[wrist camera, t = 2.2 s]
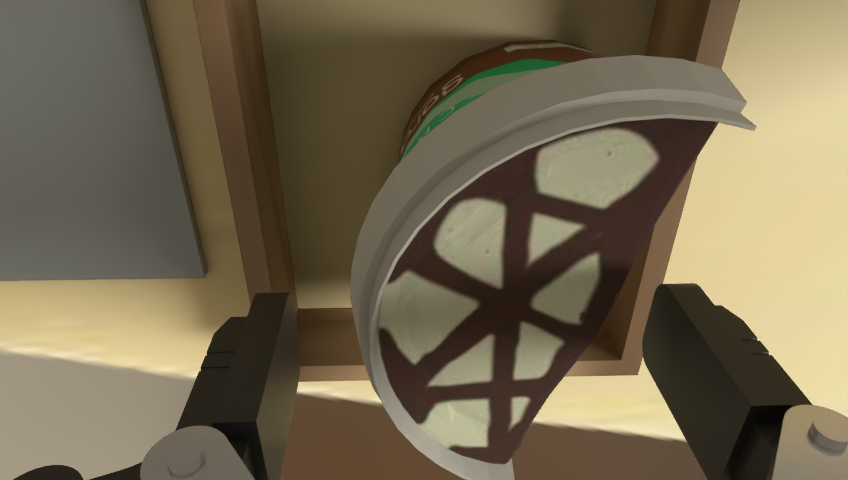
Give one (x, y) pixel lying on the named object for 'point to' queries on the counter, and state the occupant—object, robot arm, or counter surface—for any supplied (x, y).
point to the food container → (517, 232)
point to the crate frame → (264, 210)
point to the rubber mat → (89, 148)
